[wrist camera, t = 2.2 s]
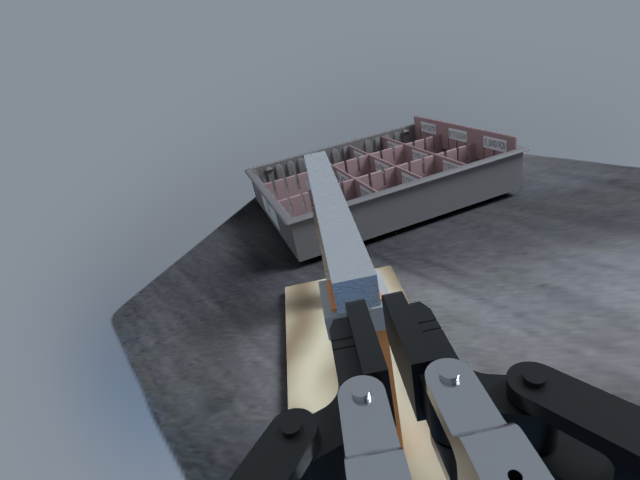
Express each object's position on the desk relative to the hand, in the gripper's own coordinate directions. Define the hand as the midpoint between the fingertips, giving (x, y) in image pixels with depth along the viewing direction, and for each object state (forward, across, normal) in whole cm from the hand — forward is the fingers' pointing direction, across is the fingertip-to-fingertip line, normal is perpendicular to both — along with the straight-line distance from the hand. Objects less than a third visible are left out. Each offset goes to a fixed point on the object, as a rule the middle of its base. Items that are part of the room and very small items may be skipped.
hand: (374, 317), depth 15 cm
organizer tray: (+59, -10, +20) cm, 63 cm away
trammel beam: (+20, 0, +19) cm, 28 cm away
